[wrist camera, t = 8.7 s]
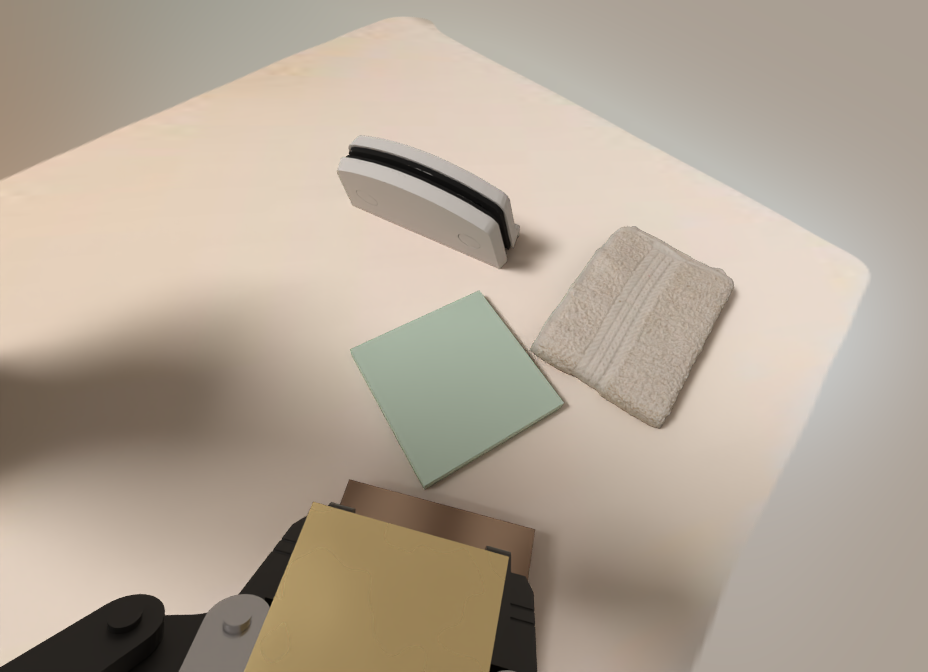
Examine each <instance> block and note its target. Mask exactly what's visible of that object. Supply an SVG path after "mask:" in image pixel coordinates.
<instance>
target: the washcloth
mask: <svg viewBox="0 0 928 672" xmlns="http://www.w3.org/2000/svg"><path fill="white" fill-rule="evenodd" d="M733 288H734V282H733V280H732V279H731V278H730V277H728V276H727V275H726V273H725V272H724V271H723V270H722V269H720V268H712V267H709V266H707V265H706V264H703V263H701V262H699V261H697V260H695V259H693V258H691V257H690V256H688V255H686V254H684V253H683V252H681V251H679V250H677V249H675V248H673V247H672V246H670V245H668V244H667V243H665V242H663V241H662V240H660V239H658V238H656V237H654V236H652V235H650V234H648V233H646V232H644V231H642V230H640V229H638V228H637V227H636V226H632V227H622V228H620V229H618V230H617V231H616V232H615V233H613V234H612V235H611V236H610V238H609V239H608V240H607V242H606V243H605V244H604V245H603V246H602V247H601V248H599V249H598V250H597V251H596V252H595V254H594V255H593V257H592V258H591V259H590V261H589V262H588V264H587V265H586V266H585V268H584V269H583V271H582V272H581V274H580V275H579V277H578V278H577V279H576V280H575V282H574V283H573V284H572V285H571V287H570V288H569V290H568V292H567V293H566V295H565V296H564V298H563V299H562V301H561V302H560V304H559V305H558V306H557V307H556V309H555V310H554V311H553V312H552V314H551V315H550V317H549V318H548V320H547V321H546V322H545V324H544V326H543V328H542V329H541V332H540V333H539V335H538V337H537V338H536V340H535V341H534V343H533V345H532V346H531V348H530V351H532V352H533V353H534V354H535V355H536V356H537V357H539V358H541V359H543V360H544V361H545V362H547V363H549V364H550V365H552V366H554V367H555V368H557V369H559V370H561V371H562V372H565V373H567V374H572V375H574V376H575V377H577V378H579V379H580V380H581V381H582V382H584V383H587V385H588V386H590V387H592V388H594V389H595V390H596V391H598V392H599V394H600V395H601V396H602V397H604V398H605V399H606V400H608V401H610V402H612V403H613V404H615V405H616V406H617V407H620V408H621V409H622V410H624V411H626V412H627V413H629V414H630V415H632V416H634V417H636V418H637V419H639V420H641V421H642V422H645V423H646V424H648V425H650V426H652V427H658V428H661V426H662V424H663V423H664V421H665V417H666V416H668V415H669V414H670V413H671V412H670V410H671V409H672V407H673V405H674V403H675V401H676V399H677V396H678V394H679V391H680V390H681V389H682V388H683V384H684V382H685V381H686V380H687V378H688V376H689V372H690V370H691V367H692V366H693V364H694V363H695V361H696V357H697V355H698V354H699V353H700V352H701V351H702V350H703V348H702V347H703V346H704V344H705V340H706V339H707V338H708V335H709V334H710V333H711V331H712V328H713V324H714V322H715V321H716V320H717V318H718V316H719V313H721V310H722V308H723V307H724V304H725V302H727V301H728V298H729V296H730V294H731V292H732V289H733Z"/></svg>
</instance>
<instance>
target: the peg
mask: <svg viewBox="0 0 928 672" xmlns="http://www.w3.org/2000/svg"><path fill="white" fill-rule="evenodd" d="M508 560H509V557H508V556H505V555H501V554H497V553H494V552H490V551H487V550H483V549H480V548H476V547H472V546H469V545H465V544H462V543H458V542H455V541H451V540H448V539H444V538H440V537H437V536H433V535H430V534H426V533H423V532H419V531H415V530H412V529H408V528H405V527H401V526H398V525H394V524H390V523H387V522H383V521H380V520H376V519H373V518H369V517H366V516H362V515H358V514H355V513H351V512H348V511H344V510H341V509H337V508H333V507H330V506H326V505H323V504H319V503H316V502H313V503H312V506H311V508H310V511H309V513H308V516H307V518H306V521H305V523H304V526H303V528H302V530H301V533H300V535H299V538H298V540H297V543H296V545H295V548H294V550H293V553H292V555H291V557H290V560H289V562H288V565H287V567H286V570H285V572H284V575H283V577H282V580H281V582H280V584H279V587H278V589H277V592H276V594H275V597H274V599H273V602H272V604H271V607H270V609H269V611H268V614H267V616H266V619H265V621H264V624H263V626H262V629H261V631H260V634H259V636H258V638H257V641H256V643H255V646H254V648H253V651H252V653H251V656H250V658H249V661H248V663H247V665H246V668H245V670H244V672H489V670H490V664H491V658H492V653H493V647H494V641H495V635H496V629H497V624H498V618H499V612H500V606H501V600H502V594H503V589H504V583H505V577H506V571H507V565H508Z"/></svg>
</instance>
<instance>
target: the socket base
mask: <svg viewBox="0 0 928 672" xmlns="http://www.w3.org/2000/svg"><path fill="white" fill-rule="evenodd" d="M340 505H344V506H347V507H351V508H354V509H355V510H356V512H355V514H358V515H362V516H366V517H369V518H373V519H376V520H380V521H383V522H387V523H390V524H394V525H398V526H401V527H405V528H408V529H412V530H415V531H419V532H423V533H426V534H430V535H433V536H437V537H440V538H444V539H448V540H451V541H455V542H458V543H462V544H465V545H469V546H472V547H476V548H480V549H483V550H485V548H486V546H491V547H494V548H498V549H502V550H505V551H509V552H511V572H512V573H516V574H519V575H523V576H526V578H527V580H528V575H529V568H530V561H531V554H532V547H533V540H534V533H535V529H531V528H528V527H524V526H520V525H517V524H513V523H509V522H505V521H502V520H498V519H494V518H491V517H487V516H483V515H479V514H476V513H472V512H468V511H465V510H461V509H457V508H453V507H450V506H446V505H442V504H439V503H435V502H431V501H428V500H424V499H420V498H416V497H413V496H409V495H405V494H402V493H398V492H394V491H390V490H387V489H383V488H379V487H376V486H372V485H368V484H364V483H361V482H357V481H353V480H350V479H349V482H348V484H347V487H346V490H345V492H344V495H343V498H342V500H341V503H340Z"/></svg>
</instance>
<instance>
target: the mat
mask: <svg viewBox="0 0 928 672" xmlns="http://www.w3.org/2000/svg"><path fill="white" fill-rule="evenodd" d="M350 351H351V354H352V357H353V359H354V360H355V362H356V364H357V366H358V368H359V370H360V372H361V373H362V375H363V377H364V379H365V381H366V383H367V384H368V386H369V388H370V390H371V392H372V394H373V396H374V397H375V399H376V401H377V403H378V405H379V407H380V409H381V410H382V412H383V414H384V416H385V418H386V420H387V421H388V423H389V425H390V427H391V429H392V431H393V433H394V434H395V436H396V438H397V440H398V442H399V444H400V446H401V447H402V449H403V451H404V453H405V455H406V457H407V459H408V460H409V462H410V464H411V466H412V468H413V470H414V471H415V473H416V475H417V477H418V479H419V481H420V483H421V484H422V486H423V488H424V489H426V488H428V487H429V486H431V485H433V484H434V483H436V482H438V481H439V480H441V479H443V478H444V477H446V476H448V475H449V474H451V473H453V472H454V471H456V470H458V469H459V468H461V467H463V466H464V465H466V464H468V463H469V462H471V461H473V460H474V459H476V458H478V457H479V456H481V455H483V454H484V453H486V452H488V451H489V450H491V449H493V448H494V447H496V446H498V445H499V444H501V443H503V442H504V441H506V440H508V439H509V438H511V437H513V436H514V435H516V434H518V433H519V432H521V431H523V430H524V429H526V428H528V427H529V426H531V425H533V424H534V423H536V422H538V421H539V420H541V419H543V418H544V417H546V416H548V415H549V414H551V413H553V412H554V411H556V410H558V409H559V408H561V407H562V405H563V404H564V402H563V401H562V399H561V398H560V397H559V395H558V394H557V393H556V391H555V390H554V389H553V387H552V386H551V385H550V383H549V382H548V381H547V380H546V378H545V377H544V376H543V374H542V373H541V372H540V370H539V369H538V368H537V366H536V365H535V364H534V362H533V361H532V360H531V358H530V357H529V356H528V354H527V353H526V352H525V350H524V349H523V348H522V346H521V345H520V344H519V342H518V341H517V340H516V338H515V337H514V336H513V334H512V333H511V332H510V330H509V329H508V328H507V326H506V325H505V324H504V322H503V321H502V320H501V319H500V317H499V316H498V315H497V313H496V312H495V311H494V309H493V308H492V307H491V305H490V304H489V303H488V301H487V300H486V299H485V297H484V296H483V295H482V293H481V292H480V291H477V292H475V293H472V294H470V295H468V296H466V297H464V298H461V299H459V300H457V301H455V302H453V303H450V304H448V305H446V306H444V307H442V308H440V309H437V310H435V311H433V312H431V313H429V314H426V315H424V316H422V317H420V318H418V319H415V320H413V321H411V322H409V323H407V324H405V325H402V326H400V327H398V328H396V329H394V330H391V331H389V332H387V333H385V334H383V335H380V336H378V337H376V338H374V339H372V340H369V341H367V342H365V343H363V344H361V345H359V346H356V347H354V348H352V349H350Z"/></svg>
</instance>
